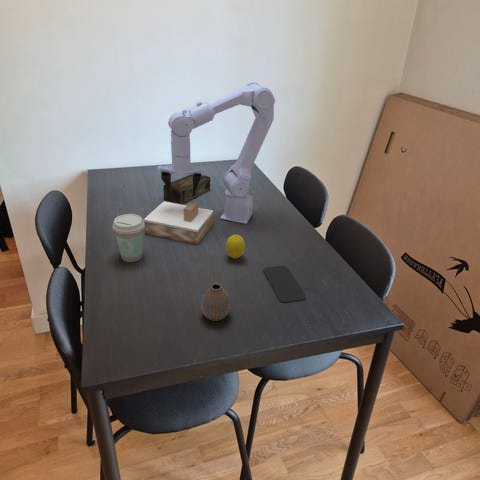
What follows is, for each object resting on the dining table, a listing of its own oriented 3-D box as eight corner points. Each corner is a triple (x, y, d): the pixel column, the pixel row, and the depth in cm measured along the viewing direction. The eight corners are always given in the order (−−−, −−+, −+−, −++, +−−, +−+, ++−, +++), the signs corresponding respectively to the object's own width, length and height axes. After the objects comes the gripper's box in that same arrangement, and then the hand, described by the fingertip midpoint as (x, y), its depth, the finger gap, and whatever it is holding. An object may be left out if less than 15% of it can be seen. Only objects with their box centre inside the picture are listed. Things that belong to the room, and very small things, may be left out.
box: (213, 224, 131) (213, 213, 129) (197, 244, 120) (197, 233, 117) (164, 214, 135) (164, 204, 133) (144, 233, 124) (143, 222, 121)
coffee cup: (111, 254, 112) (106, 218, 106) (138, 245, 117) (135, 210, 111) (124, 268, 107) (120, 230, 101) (152, 258, 112) (149, 222, 106)
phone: (280, 302, 98) (261, 268, 110) (280, 305, 98) (261, 270, 110) (307, 298, 100) (286, 264, 112) (307, 301, 100) (285, 267, 112)
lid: (213, 212, 129) (213, 199, 126) (197, 232, 117) (197, 218, 115) (164, 203, 133) (163, 190, 130) (143, 221, 121) (142, 207, 119)
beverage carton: (211, 190, 155) (211, 175, 151) (178, 207, 141) (177, 190, 138) (196, 185, 159) (196, 170, 155) (162, 200, 145) (161, 184, 141)
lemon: (240, 251, 117) (241, 228, 113) (247, 261, 113) (248, 238, 109) (222, 254, 115) (223, 231, 111) (229, 264, 111) (230, 241, 107)
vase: (195, 317, 92) (194, 288, 87) (212, 302, 97) (213, 273, 92) (218, 329, 89) (219, 300, 84) (235, 313, 94) (237, 284, 89)
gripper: (205, 150, 122) (205, 190, 129) (159, 148, 122) (161, 188, 129) (204, 158, 116) (204, 199, 123) (155, 156, 116) (158, 197, 123)
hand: (182, 194), depth 126 cm, fingers open, 7 cm apart
